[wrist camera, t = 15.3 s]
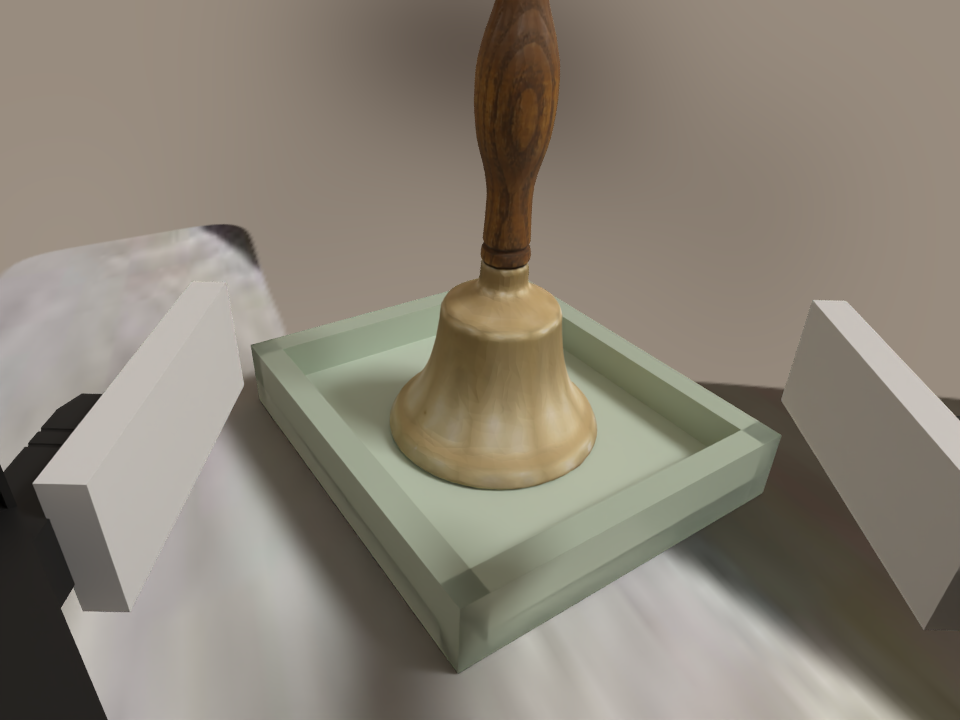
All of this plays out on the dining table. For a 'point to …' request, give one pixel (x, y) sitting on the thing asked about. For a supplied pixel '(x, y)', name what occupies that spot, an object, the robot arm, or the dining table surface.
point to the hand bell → (502, 296)
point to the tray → (512, 512)
